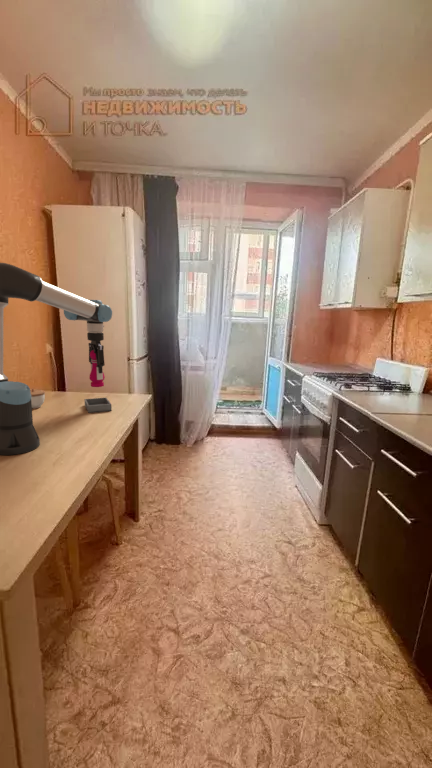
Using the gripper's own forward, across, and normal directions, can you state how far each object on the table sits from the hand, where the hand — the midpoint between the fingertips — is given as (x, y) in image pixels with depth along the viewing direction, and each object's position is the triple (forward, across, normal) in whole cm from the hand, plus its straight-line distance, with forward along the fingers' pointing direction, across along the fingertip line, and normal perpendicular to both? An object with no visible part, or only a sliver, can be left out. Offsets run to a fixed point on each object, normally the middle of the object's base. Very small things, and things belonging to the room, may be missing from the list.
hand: (97, 377), depth 173 cm
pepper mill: (+4, 0, 0) cm, 4 cm away
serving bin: (+16, 0, 0) cm, 16 cm away
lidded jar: (+16, +19, +26) cm, 36 cm away
